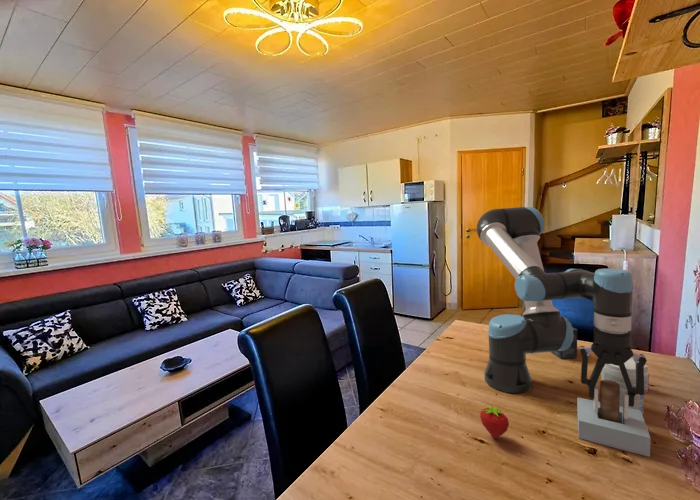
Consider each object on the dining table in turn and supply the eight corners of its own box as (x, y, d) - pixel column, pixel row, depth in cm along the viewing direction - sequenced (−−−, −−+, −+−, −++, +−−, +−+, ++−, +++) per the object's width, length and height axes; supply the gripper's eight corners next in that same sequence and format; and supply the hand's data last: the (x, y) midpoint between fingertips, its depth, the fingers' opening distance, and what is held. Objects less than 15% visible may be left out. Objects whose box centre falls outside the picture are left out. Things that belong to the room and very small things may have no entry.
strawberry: (501, 450, 83) (500, 414, 82) (475, 435, 89) (474, 401, 88) (514, 440, 86) (513, 405, 85) (488, 426, 92) (487, 393, 91)
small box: (578, 358, 128) (578, 329, 126) (560, 359, 128) (560, 330, 126) (557, 344, 141) (557, 318, 139) (541, 345, 141) (541, 319, 140)
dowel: (600, 435, 86) (600, 385, 84) (599, 426, 89) (599, 378, 88) (620, 439, 84) (620, 389, 82) (618, 430, 87) (618, 381, 85)
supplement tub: (650, 421, 90) (652, 371, 88) (609, 417, 93) (610, 368, 91) (632, 401, 99) (633, 355, 97) (595, 398, 102) (596, 353, 100)
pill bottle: (652, 393, 102) (653, 368, 101) (634, 392, 103) (635, 367, 102) (642, 385, 107) (642, 361, 106) (625, 384, 108) (626, 360, 107)
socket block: (578, 438, 85) (578, 420, 85) (577, 413, 95) (577, 397, 95) (649, 457, 78) (650, 437, 77) (640, 427, 87) (640, 410, 87)
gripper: (568, 328, 85) (568, 410, 88) (664, 339, 75) (661, 432, 77) (568, 320, 91) (568, 396, 94) (657, 329, 81) (653, 414, 84)
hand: (610, 412), depth 86 cm, fingers open, 5 cm apart
